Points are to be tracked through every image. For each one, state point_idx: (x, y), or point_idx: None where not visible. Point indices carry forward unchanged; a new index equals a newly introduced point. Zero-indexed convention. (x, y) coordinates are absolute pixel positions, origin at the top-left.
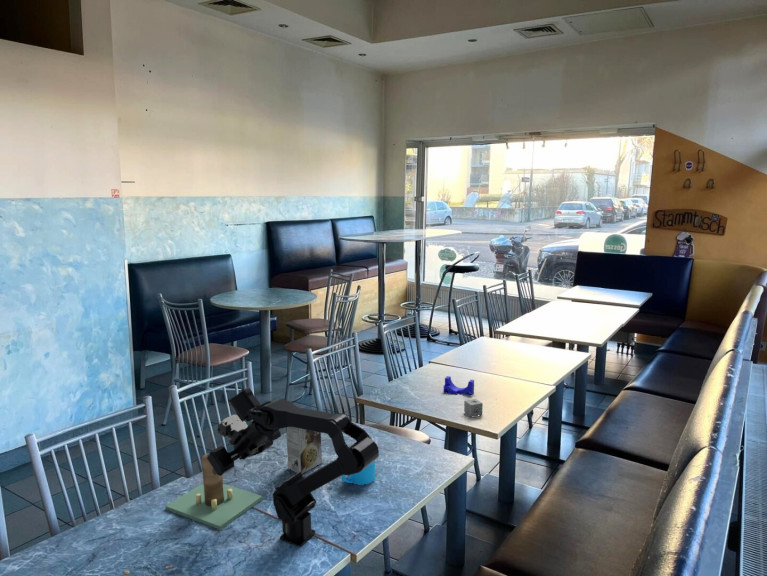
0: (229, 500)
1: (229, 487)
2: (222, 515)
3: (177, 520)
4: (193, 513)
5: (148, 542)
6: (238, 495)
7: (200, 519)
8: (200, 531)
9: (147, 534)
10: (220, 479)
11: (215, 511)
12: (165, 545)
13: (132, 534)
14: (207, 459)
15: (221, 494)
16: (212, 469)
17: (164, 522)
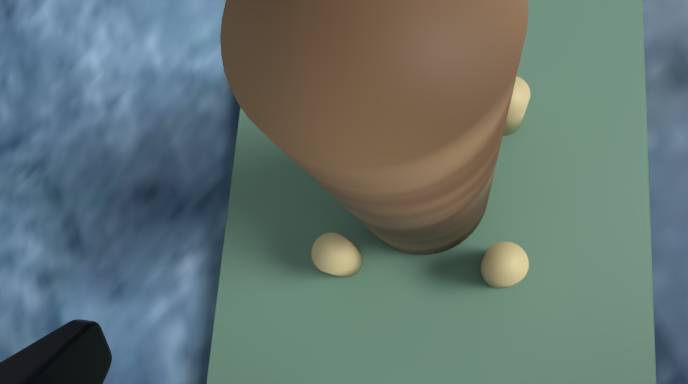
0: (475, 284)
1: (623, 157)
2: (304, 366)
3: (205, 121)
4: (253, 173)
5: (16, 140)
6: (564, 301)
7: (222, 258)
8: (163, 322)
9: (64, 83)
10: (411, 227)
11: (322, 288)
12: (16, 237)
13: (46, 22)
14: (275, 30)
15: (423, 246)
16: (20, 351)
17: (168, 74)
